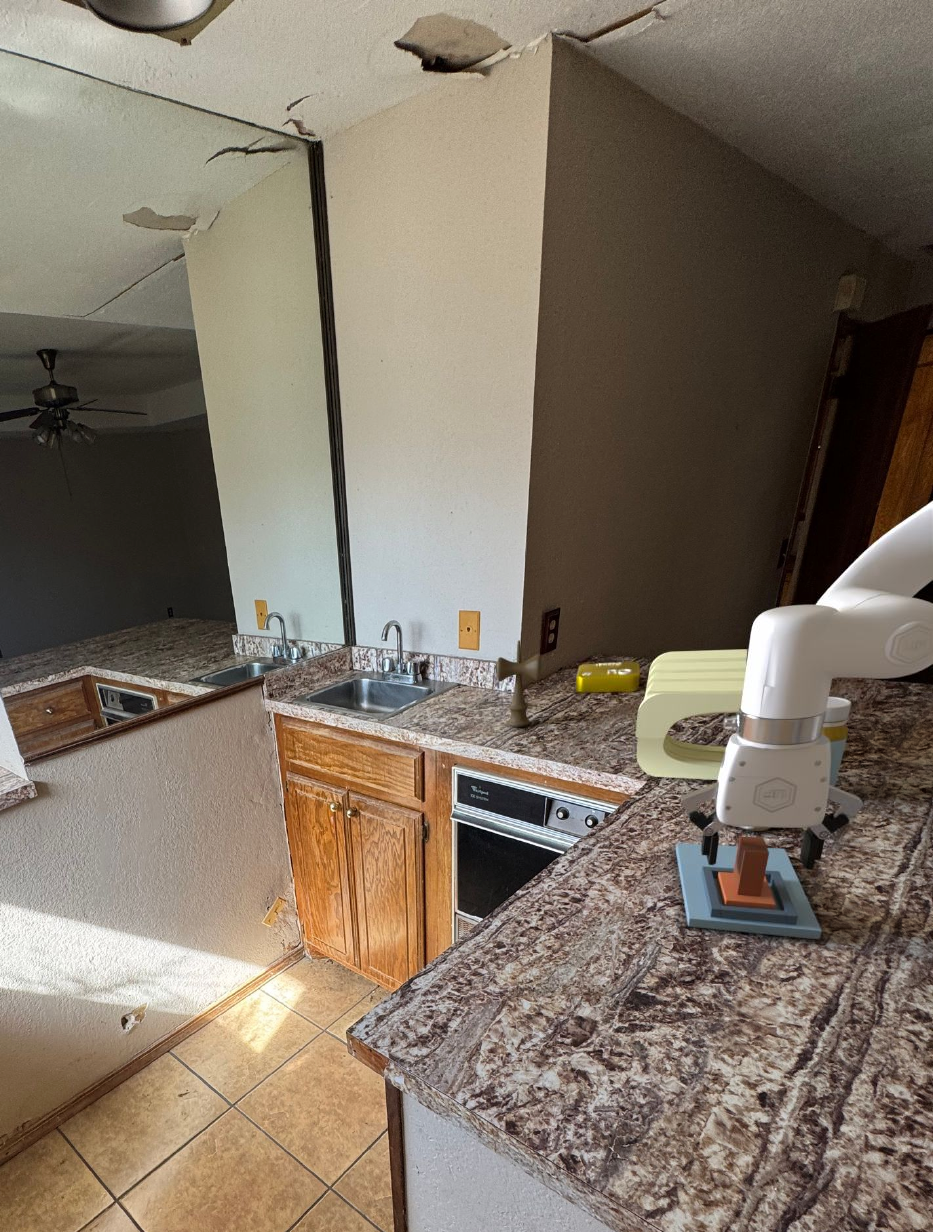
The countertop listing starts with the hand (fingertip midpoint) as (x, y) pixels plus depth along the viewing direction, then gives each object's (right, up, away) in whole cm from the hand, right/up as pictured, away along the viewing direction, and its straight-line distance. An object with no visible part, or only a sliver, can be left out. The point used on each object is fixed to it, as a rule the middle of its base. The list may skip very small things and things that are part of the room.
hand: (757, 861), depth 78 cm
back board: (+2, -4, +6) cm, 7 cm away
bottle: (+27, +10, +27) cm, 40 cm away
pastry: (+14, +5, +21) cm, 26 cm away
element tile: (+27, +44, +96) cm, 109 cm away
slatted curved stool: (+17, +17, +43) cm, 49 cm away
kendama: (-3, +30, +77) cm, 82 cm away
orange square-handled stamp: (0, -4, +2) cm, 5 cm away
